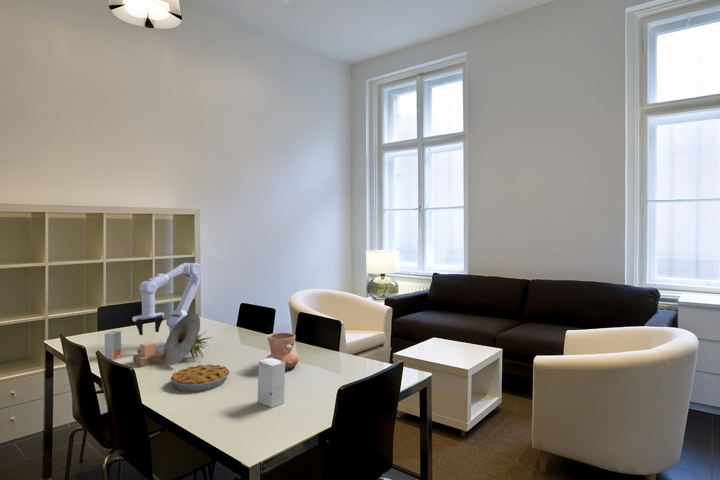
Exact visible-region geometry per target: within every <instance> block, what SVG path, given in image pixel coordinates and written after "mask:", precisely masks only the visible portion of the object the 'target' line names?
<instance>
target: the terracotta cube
mask: <svg viewBox="0 0 720 480" xmlns="http://www.w3.org/2000/svg"><path fill="white" fill-rule="evenodd" d="M156 343H157V342H152V341H149V342H143V343H139V350H140V352H139V353H140V355H142V356H144V357H146V356H151V355H155V354H156Z"/></svg>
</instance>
